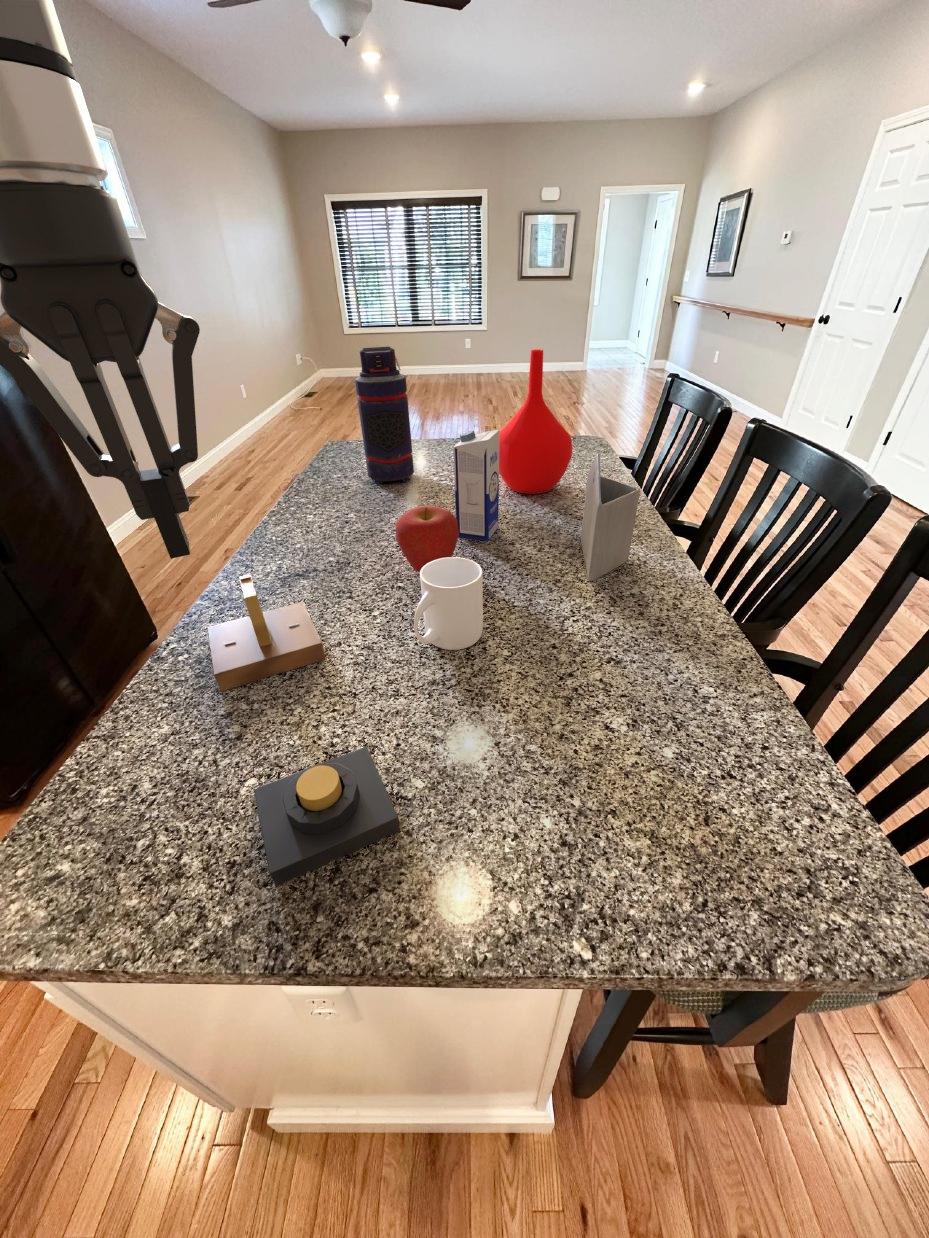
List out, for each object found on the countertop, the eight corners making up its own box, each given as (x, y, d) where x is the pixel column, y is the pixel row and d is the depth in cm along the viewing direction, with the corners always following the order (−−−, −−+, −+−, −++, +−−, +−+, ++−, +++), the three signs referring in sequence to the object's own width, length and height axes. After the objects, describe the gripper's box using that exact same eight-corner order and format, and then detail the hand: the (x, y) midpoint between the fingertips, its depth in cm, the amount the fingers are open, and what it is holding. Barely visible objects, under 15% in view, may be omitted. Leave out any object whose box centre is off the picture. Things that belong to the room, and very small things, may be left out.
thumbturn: (271, 644, 71) (256, 593, 66) (259, 647, 70) (243, 596, 66) (265, 621, 75) (250, 573, 71) (254, 624, 75) (238, 575, 70)
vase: (571, 476, 130) (583, 344, 113) (566, 503, 116) (579, 357, 99) (500, 472, 134) (501, 344, 117) (486, 498, 120) (486, 356, 103)
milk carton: (488, 541, 101) (487, 438, 90) (456, 537, 103) (452, 435, 92) (498, 527, 107) (499, 428, 95) (468, 523, 109) (465, 425, 97)
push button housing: (275, 886, 46) (264, 862, 44) (259, 801, 54) (248, 777, 51) (400, 830, 50) (396, 805, 48) (369, 758, 58) (364, 734, 55)
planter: (635, 582, 87) (657, 470, 76) (588, 581, 88) (602, 470, 77) (621, 540, 100) (637, 439, 89) (580, 539, 101) (591, 439, 90)
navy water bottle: (416, 483, 129) (405, 350, 112) (369, 488, 128) (350, 353, 111) (411, 466, 140) (400, 342, 123) (367, 470, 139) (350, 345, 122)
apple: (400, 558, 97) (393, 497, 90) (457, 554, 97) (454, 493, 90) (400, 589, 88) (392, 524, 81) (462, 584, 88) (460, 519, 81)
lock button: (304, 818, 48) (300, 806, 47) (296, 786, 51) (292, 774, 50) (346, 801, 49) (343, 789, 48) (335, 770, 52) (332, 759, 51)
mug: (396, 647, 74) (388, 584, 68) (452, 611, 82) (449, 551, 75) (439, 672, 70) (434, 606, 63) (494, 631, 77) (495, 569, 71)
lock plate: (220, 691, 68) (213, 673, 66) (213, 643, 76) (206, 625, 75) (325, 659, 73) (321, 641, 71) (307, 617, 81) (303, 600, 80)
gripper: (162, 194, 35) (254, 518, 48) (-82, 191, 30) (95, 550, 44) (163, 179, 29) (266, 550, 43) (-136, 172, 25) (86, 590, 38)
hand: (179, 549), depth 43 cm, fingers closed
